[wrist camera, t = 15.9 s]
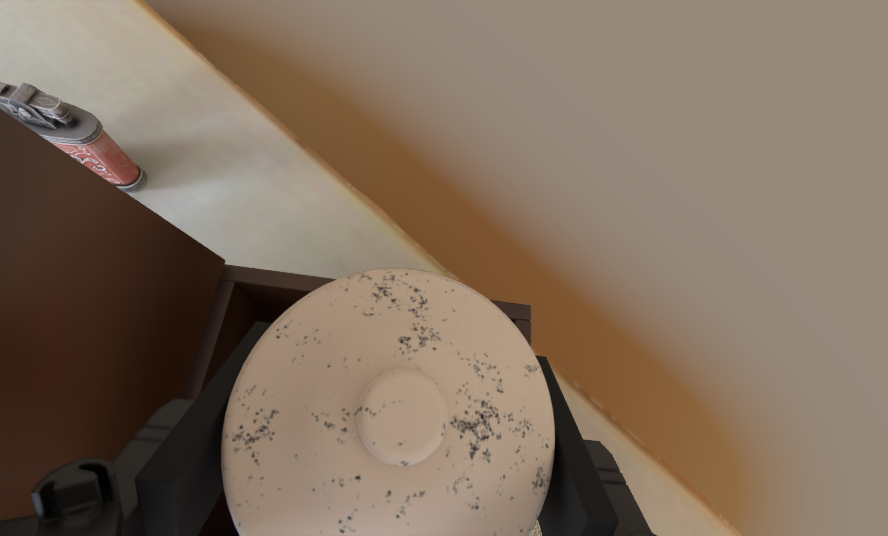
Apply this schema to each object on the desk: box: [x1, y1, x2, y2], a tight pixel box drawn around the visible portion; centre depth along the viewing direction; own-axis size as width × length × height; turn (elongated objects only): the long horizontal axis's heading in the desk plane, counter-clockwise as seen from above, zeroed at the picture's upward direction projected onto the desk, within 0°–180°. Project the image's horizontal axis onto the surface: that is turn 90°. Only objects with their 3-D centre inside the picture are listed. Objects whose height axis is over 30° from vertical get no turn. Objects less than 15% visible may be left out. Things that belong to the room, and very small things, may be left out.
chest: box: [180, 264, 531, 536], centre depth 26 cm, size 17×17×15 cm
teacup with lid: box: [221, 268, 555, 536], centre depth 13 cm, size 12×9×12 cm
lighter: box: [0, 82, 147, 193], centre depth 34 cm, size 8×3×10 cm, turn 77°
